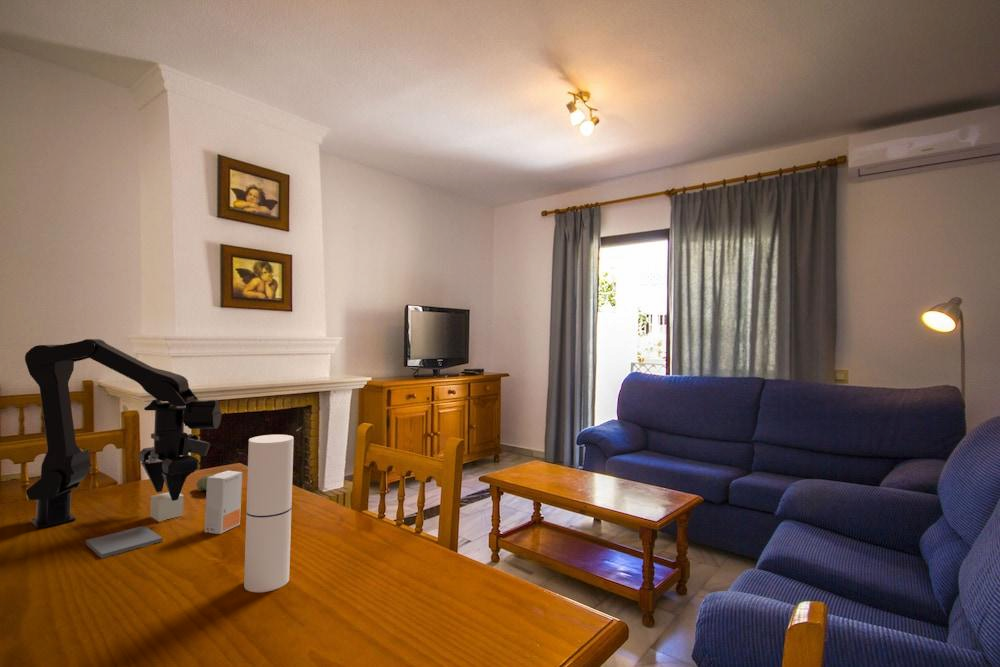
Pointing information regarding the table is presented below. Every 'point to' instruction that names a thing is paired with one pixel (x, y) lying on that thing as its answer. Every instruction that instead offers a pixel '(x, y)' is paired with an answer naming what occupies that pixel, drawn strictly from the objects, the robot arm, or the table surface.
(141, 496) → the table surface
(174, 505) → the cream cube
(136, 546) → the mat
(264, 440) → the cylindrical container
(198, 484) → the pear
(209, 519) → the skincare box
